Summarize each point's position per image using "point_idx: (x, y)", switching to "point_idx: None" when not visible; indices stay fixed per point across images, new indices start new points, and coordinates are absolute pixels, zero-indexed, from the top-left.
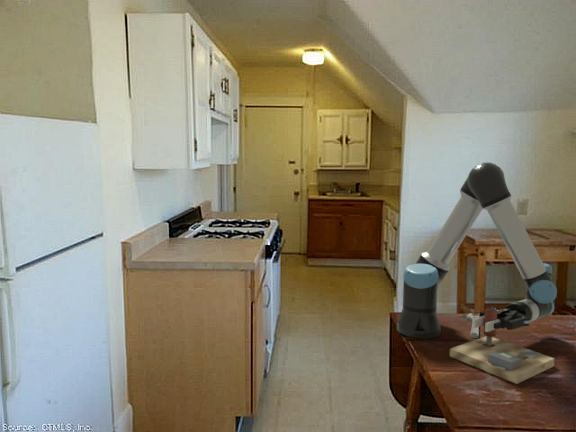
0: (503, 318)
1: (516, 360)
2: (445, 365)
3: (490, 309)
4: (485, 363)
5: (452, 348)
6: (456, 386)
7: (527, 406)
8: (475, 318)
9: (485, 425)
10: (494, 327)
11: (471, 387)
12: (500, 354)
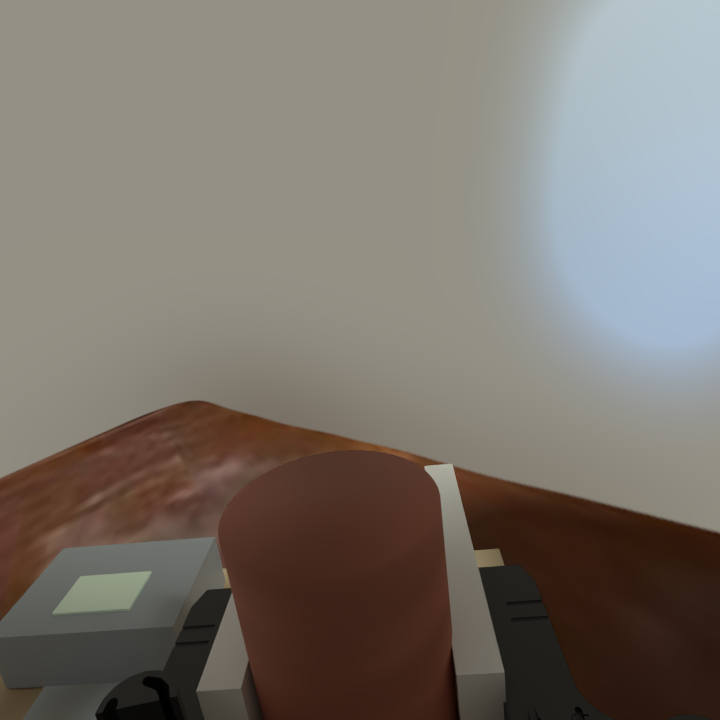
0: (121, 696)
1: (27, 591)
2: None
3: (361, 518)
4: None
5: (494, 560)
6: (276, 460)
7: (20, 524)
8: (452, 483)
9: (138, 420)
10: None
11: (232, 484)
12: (141, 575)
